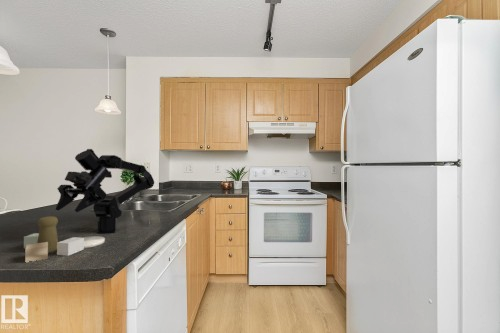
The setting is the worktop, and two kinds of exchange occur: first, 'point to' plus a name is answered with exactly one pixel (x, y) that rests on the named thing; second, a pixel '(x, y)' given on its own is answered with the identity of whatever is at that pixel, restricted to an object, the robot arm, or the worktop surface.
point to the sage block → (31, 239)
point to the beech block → (36, 251)
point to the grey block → (70, 246)
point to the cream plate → (93, 241)
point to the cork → (48, 232)
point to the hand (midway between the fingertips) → (66, 210)
